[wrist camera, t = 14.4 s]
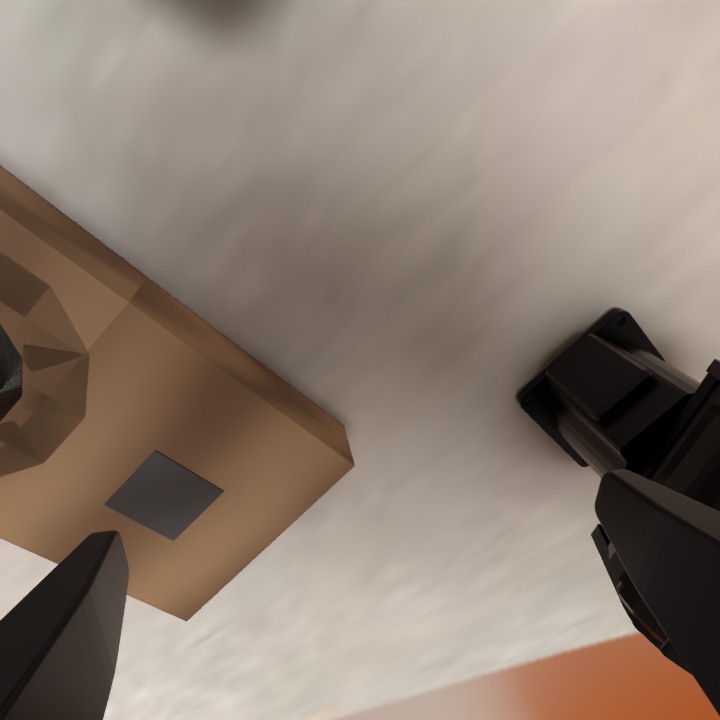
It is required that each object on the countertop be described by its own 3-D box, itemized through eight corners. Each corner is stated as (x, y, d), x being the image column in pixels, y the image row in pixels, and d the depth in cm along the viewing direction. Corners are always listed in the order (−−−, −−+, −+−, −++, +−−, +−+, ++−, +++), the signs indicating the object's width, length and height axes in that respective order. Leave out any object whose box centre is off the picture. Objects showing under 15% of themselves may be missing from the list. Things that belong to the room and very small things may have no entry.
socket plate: (343, 426, 24) (355, 466, 21) (194, 569, 26) (186, 622, 23) (-84, 102, 16) (-154, 99, 13) (-252, 346, 18) (-344, 387, 15)
